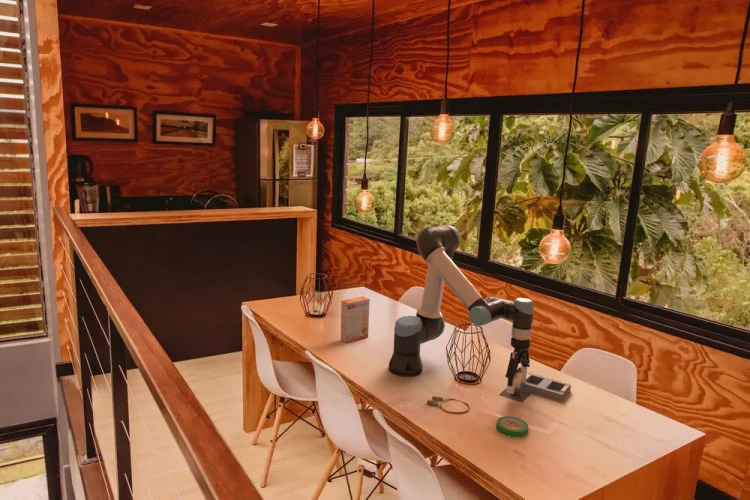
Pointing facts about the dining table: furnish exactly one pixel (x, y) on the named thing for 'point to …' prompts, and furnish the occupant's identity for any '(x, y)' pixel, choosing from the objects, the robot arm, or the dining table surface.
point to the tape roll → (512, 432)
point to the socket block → (546, 387)
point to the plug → (517, 382)
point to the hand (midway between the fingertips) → (516, 387)
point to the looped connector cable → (442, 402)
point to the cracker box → (354, 319)
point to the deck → (520, 398)
